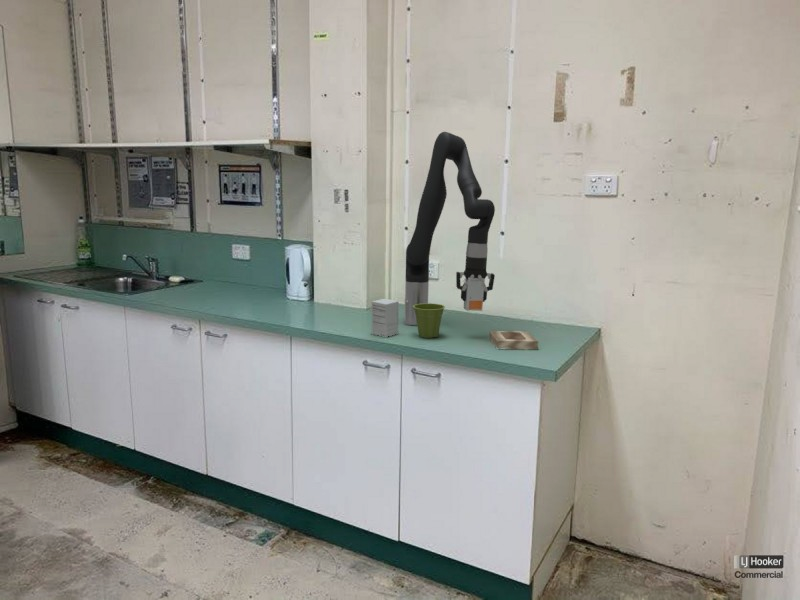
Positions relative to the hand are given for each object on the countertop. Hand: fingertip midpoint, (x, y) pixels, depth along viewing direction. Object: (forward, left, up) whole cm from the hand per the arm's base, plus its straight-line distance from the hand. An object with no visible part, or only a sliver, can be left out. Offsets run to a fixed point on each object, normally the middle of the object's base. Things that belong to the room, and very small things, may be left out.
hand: (473, 300), depth 212 cm
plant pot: (-16, +2, -14) cm, 21 cm away
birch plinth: (+13, -9, -14) cm, 21 cm away
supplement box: (-32, +4, -14) cm, 35 cm away
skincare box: (0, 0, -4) cm, 4 cm away
